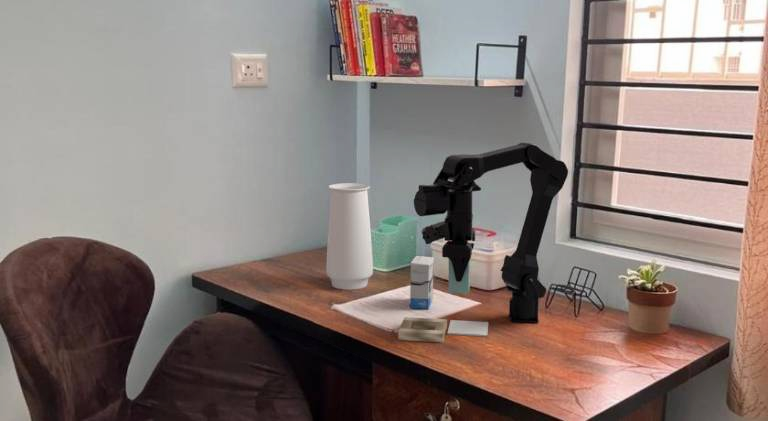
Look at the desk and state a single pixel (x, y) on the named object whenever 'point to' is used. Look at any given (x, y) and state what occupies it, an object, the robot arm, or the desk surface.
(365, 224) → the vase
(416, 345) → the desk surface
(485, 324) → the grey coaster
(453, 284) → the teal block
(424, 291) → the ink box
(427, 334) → the birch holder
